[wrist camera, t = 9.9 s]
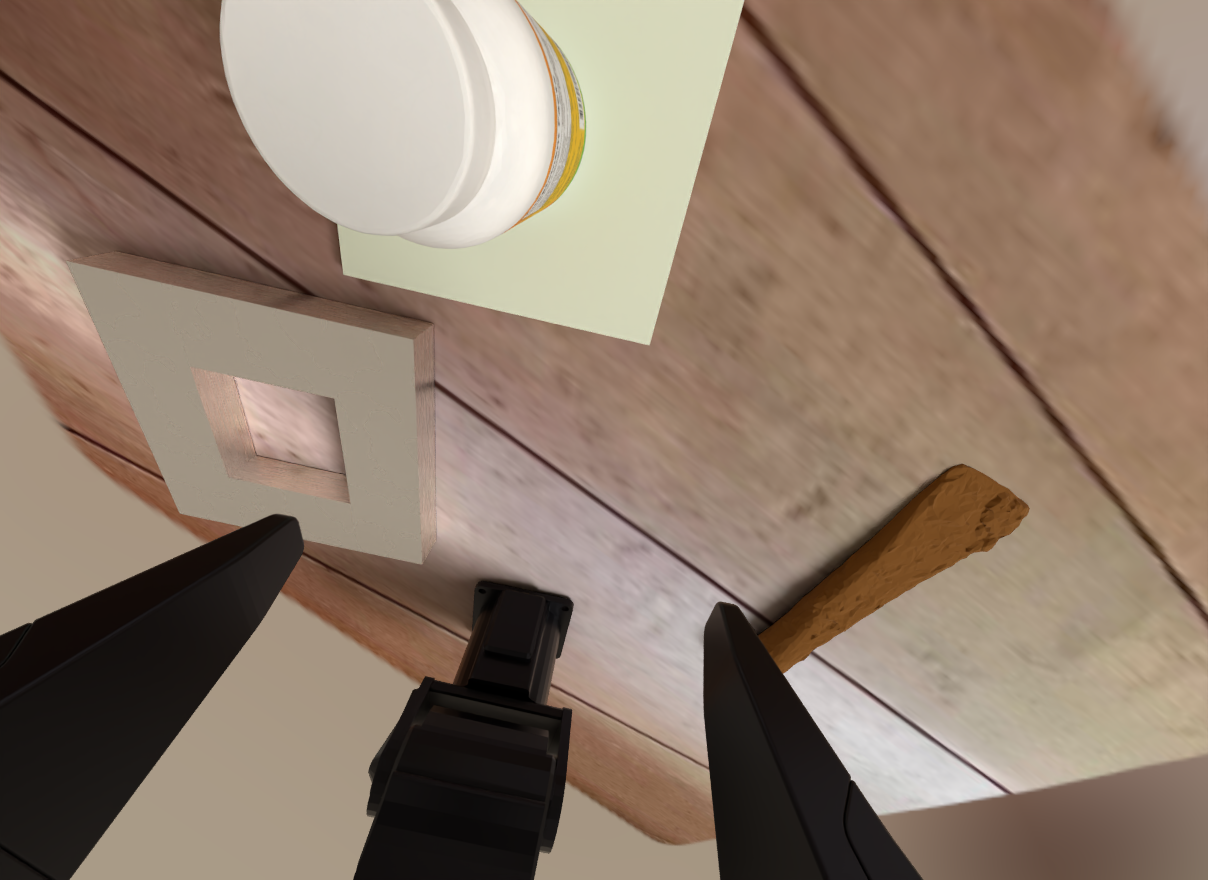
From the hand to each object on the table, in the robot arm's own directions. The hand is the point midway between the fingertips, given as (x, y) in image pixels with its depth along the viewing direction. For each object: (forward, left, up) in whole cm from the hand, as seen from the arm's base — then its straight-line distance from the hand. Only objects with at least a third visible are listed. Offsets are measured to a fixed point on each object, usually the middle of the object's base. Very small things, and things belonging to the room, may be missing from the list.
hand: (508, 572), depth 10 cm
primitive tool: (-11, -18, -13) cm, 24 cm away
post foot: (-7, +14, -13) cm, 20 cm away
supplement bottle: (+8, +4, -12) cm, 15 cm away
